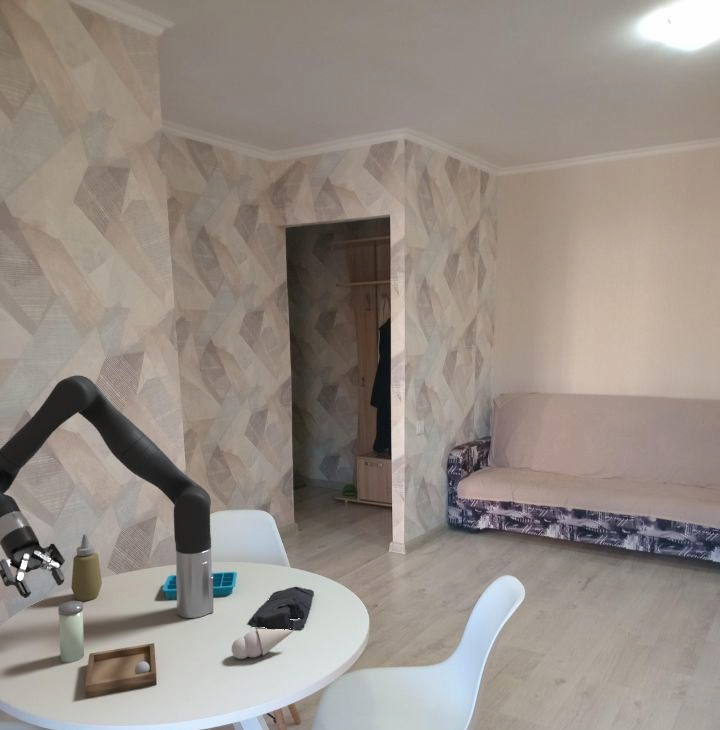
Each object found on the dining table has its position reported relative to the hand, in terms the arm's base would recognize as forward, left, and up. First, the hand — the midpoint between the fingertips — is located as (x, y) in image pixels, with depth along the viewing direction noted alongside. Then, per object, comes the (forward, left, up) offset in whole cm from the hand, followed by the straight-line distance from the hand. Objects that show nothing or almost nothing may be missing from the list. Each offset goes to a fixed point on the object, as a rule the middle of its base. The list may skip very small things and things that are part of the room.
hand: (45, 589), depth 152 cm
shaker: (-6, +7, -14) cm, 17 cm away
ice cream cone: (-48, +21, -14) cm, 55 cm away
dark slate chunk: (-58, +1, -15) cm, 60 cm away
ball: (-21, +24, -11) cm, 34 cm away
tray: (-17, +19, -14) cm, 29 cm away
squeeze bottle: (-7, -28, -14) cm, 32 cm away
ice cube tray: (-38, -22, -15) cm, 46 cm away
